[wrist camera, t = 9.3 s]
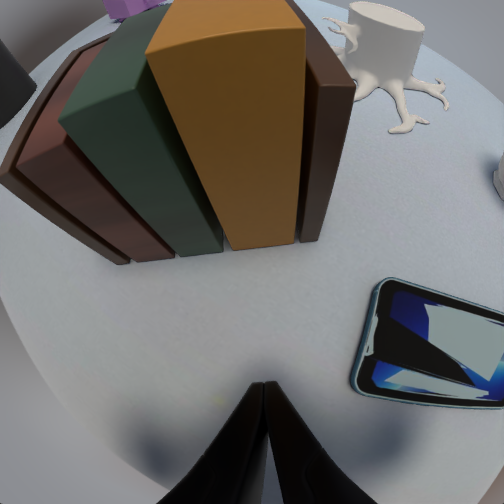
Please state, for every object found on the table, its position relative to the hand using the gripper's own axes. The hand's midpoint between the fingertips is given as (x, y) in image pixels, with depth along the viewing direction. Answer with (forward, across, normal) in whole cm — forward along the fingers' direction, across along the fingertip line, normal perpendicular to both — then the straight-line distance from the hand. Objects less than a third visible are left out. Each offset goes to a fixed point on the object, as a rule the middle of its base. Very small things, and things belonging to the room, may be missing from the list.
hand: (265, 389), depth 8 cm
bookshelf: (+15, -3, +4) cm, 16 cm away
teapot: (+57, -23, +47) cm, 78 cm away
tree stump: (+25, +16, +15) cm, 33 cm away
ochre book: (+14, 0, +4) cm, 15 cm away
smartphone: (+4, +12, -6) cm, 15 cm away
